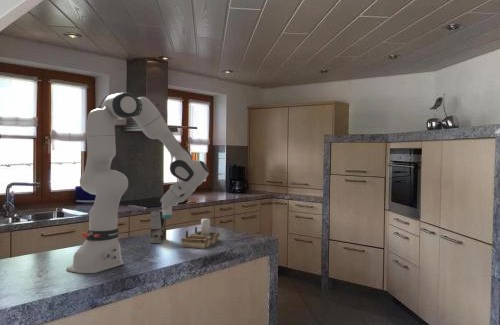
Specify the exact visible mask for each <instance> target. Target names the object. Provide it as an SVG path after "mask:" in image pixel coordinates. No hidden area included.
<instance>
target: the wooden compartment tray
mask: <svg viewBox="0 0 500 325" xmlns="http://www.w3.org/2000/svg"><path fill="white" fill-rule="evenodd" d="M220 234H221V233H220V232H215V231H214V232H213V231H210V235H201V230H199V231H198V227H196V226H195V227H194V232H193V233H192V234H189V231H188V230H186V231H185V237H182V238H181V248H182V247H183V248H192V249H193V248H194V249H202V250H203V249H205V248H208V247H210V246H211V245H213V244H215V243H217V242H219V241H220Z"/></svg>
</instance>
